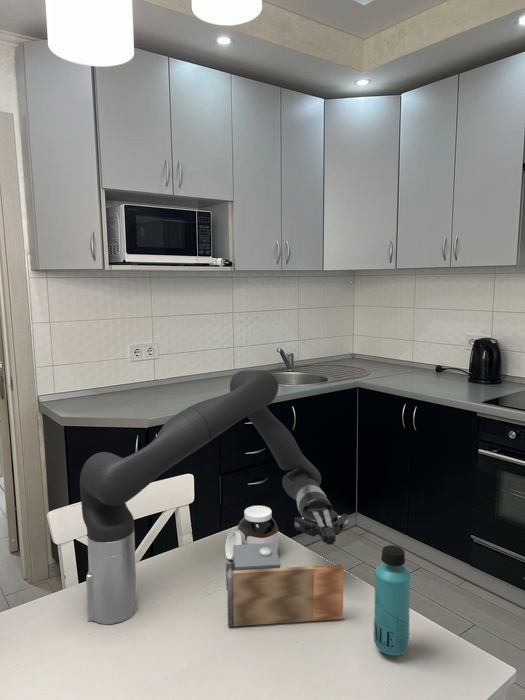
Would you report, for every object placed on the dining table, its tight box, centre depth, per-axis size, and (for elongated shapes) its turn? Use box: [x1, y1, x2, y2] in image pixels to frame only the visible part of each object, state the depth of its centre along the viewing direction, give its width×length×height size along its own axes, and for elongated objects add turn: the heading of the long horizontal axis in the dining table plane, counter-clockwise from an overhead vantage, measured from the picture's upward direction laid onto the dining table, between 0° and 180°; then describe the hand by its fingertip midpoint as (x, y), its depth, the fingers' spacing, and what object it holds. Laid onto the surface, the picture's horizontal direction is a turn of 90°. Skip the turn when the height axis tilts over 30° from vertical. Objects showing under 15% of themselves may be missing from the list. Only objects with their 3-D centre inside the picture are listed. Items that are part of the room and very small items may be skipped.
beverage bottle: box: [373, 544, 412, 656], centre depth 94 cm, size 6×7×20 cm
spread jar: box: [224, 505, 280, 561], centre depth 129 cm, size 12×11×12 cm
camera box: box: [225, 543, 281, 592], centre depth 108 cm, size 11×9×13 cm
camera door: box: [226, 563, 345, 628], centre depth 103 cm, size 23×1×11 cm, turn 96°
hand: (330, 540), depth 109 cm, fingers closed
